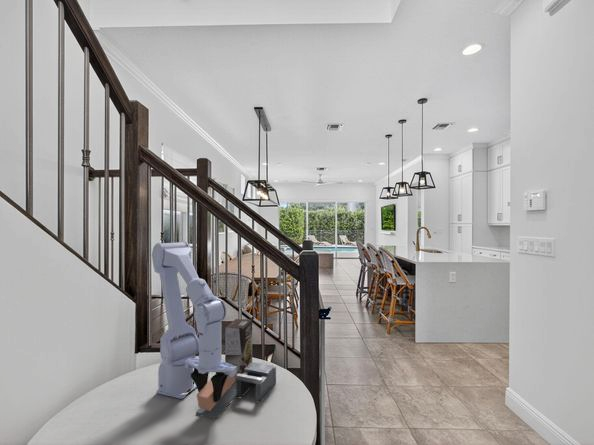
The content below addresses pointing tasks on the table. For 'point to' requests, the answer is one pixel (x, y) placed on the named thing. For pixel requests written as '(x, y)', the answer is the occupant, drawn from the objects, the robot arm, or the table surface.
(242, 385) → the dispenser
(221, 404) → the pad
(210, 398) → the salmon rectangular block
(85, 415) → the table surface
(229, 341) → the coffee box
